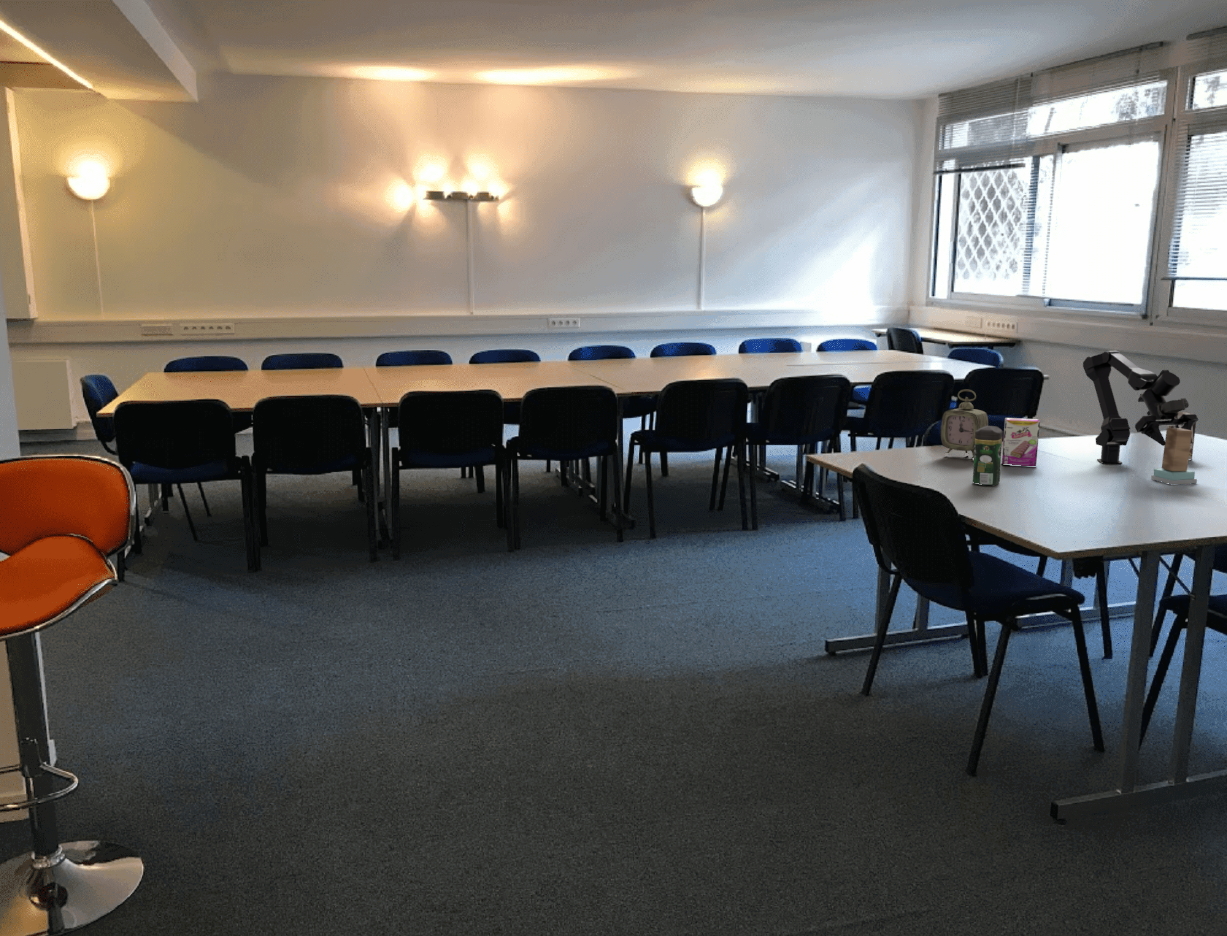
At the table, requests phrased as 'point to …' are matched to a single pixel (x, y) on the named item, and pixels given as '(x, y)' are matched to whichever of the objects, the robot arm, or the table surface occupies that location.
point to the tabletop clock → (962, 426)
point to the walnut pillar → (1176, 449)
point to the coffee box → (1191, 429)
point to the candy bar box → (1020, 441)
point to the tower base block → (1186, 481)
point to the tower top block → (1174, 474)
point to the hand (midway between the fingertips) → (1177, 444)
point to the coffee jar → (987, 455)
